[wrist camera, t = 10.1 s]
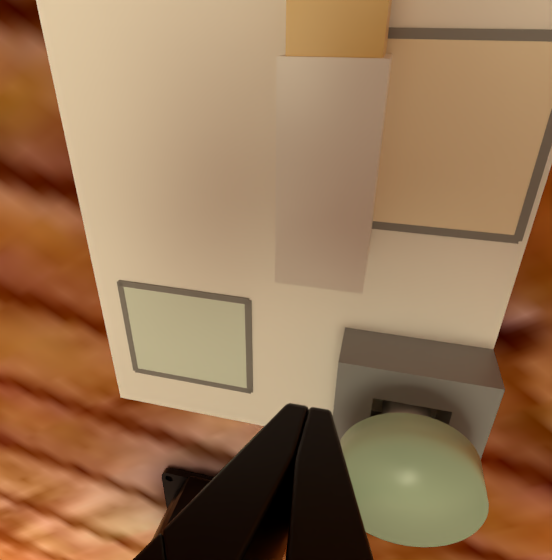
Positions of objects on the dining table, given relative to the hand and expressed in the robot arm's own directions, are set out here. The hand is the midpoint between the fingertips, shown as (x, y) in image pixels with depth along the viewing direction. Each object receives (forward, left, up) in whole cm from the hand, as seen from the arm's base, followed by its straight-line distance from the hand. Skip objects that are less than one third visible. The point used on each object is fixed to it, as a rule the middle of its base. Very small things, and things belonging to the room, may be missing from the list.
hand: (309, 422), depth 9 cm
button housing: (-8, -3, -11) cm, 13 cm away
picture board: (-2, +3, -11) cm, 11 cm away
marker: (+3, +1, -10) cm, 11 cm away
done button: (-8, -3, -9) cm, 12 cm away
